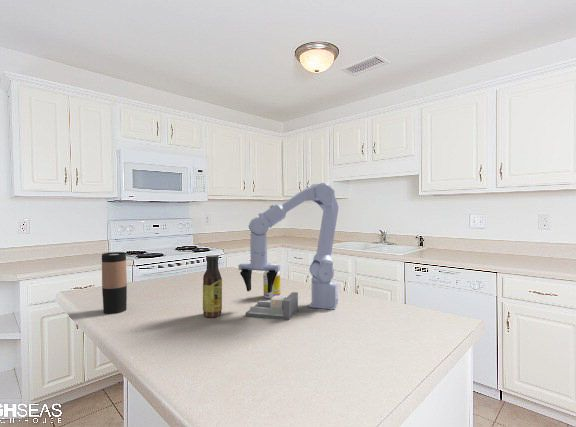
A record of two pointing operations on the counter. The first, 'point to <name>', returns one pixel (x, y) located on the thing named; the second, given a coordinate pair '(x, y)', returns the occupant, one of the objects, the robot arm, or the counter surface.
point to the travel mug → (114, 282)
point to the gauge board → (266, 312)
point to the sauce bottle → (212, 288)
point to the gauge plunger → (277, 302)
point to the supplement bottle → (274, 289)
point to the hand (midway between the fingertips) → (259, 291)
